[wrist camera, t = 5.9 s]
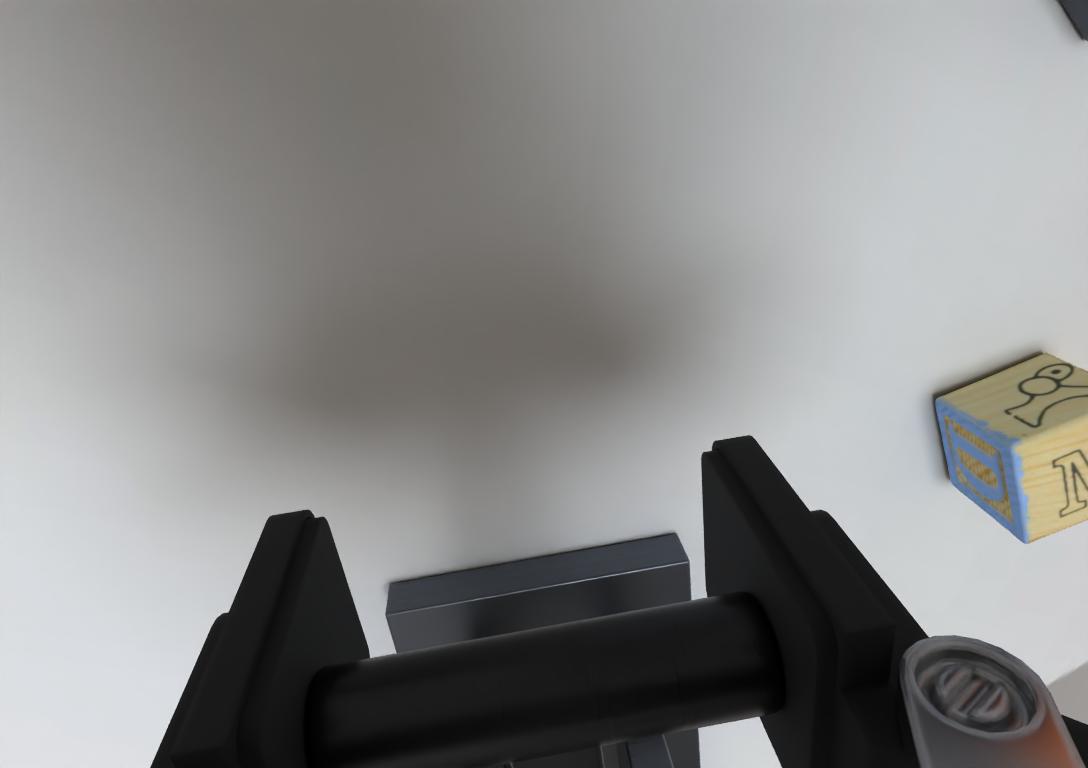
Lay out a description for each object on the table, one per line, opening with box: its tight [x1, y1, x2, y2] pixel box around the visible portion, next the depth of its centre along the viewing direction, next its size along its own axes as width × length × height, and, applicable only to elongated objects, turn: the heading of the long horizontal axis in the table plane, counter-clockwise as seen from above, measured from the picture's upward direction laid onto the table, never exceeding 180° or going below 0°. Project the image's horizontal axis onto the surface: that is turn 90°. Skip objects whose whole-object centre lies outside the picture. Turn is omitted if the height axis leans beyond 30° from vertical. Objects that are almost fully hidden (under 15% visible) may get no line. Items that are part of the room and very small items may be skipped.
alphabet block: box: [935, 353, 1088, 544], centre depth 18 cm, size 3×3×3 cm
